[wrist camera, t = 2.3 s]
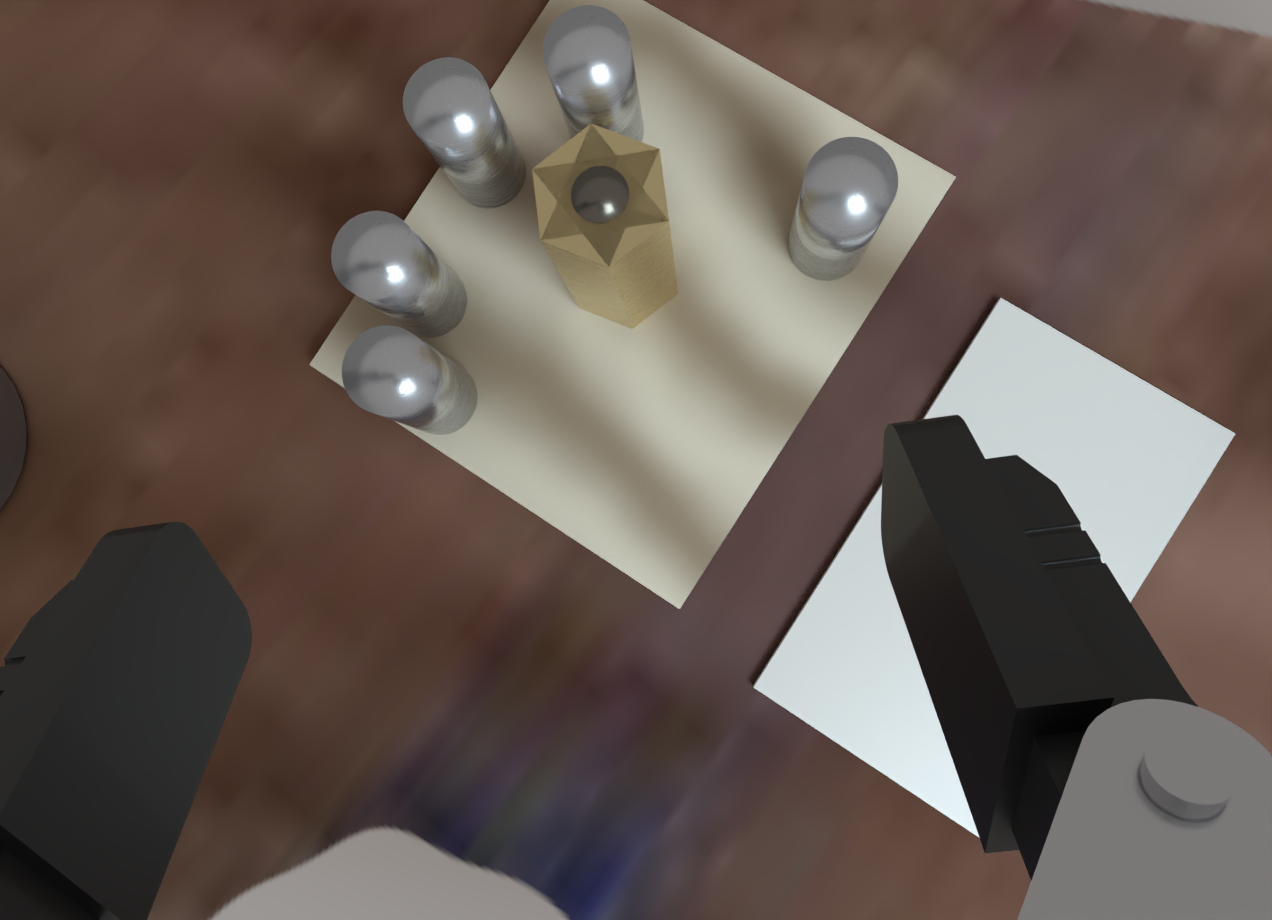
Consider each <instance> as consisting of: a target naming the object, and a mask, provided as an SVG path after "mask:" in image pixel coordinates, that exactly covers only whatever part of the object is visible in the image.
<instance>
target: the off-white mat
mask: <svg viewBox="0 0 1272 920" xmlns="http://www.w3.org/2000/svg"><path fill="white" fill-rule="evenodd" d="M950 415H959V416H961V417H962V418H963V420H964V421H965V423H966V424H967V426H968V428H969V430H970V432H971V433H972V435H973V437H974V439H975V441H976V443H977V444H978V446H979V448H980V450H981V452H982V454H983V456H984V457H985V459H989V458H996V457H1003V456H1011V455H1018V456H1019V457H1020V458H1022V459H1023V460H1025V461H1026V462H1027V463H1029V464H1030V465H1031V466H1033V467H1034V468H1035V469H1037V470H1038V471H1039V472H1041V473H1042V474H1043V475H1045V476H1046V477H1048V478H1049V479H1050V480H1052V481H1053V482H1054V483H1056V484H1057V485H1058V487H1059V488H1060V490H1061V492H1062V493H1063V495H1064V497H1065V498H1066V500H1067V501H1068V503H1069V505H1070V506H1071V508H1072V509H1073V511H1074V513H1075V514H1076V516H1077V517H1078V519H1079V521H1080V522H1081V529H1082V531H1084V530H1086V532H1087V534H1088V535H1089V537H1090V538H1091V540H1092V542H1093V543H1094V545H1095V546H1096V548H1097V550H1098V551H1099V553H1100V558H1101V562H1102V563H1106V564H1107V566H1108V567H1109V569H1110V571H1111V572H1112V574H1113V575H1114V577H1115V579H1116V580H1117V582H1118V584H1119V585H1120V587H1121V588H1122V590H1123V592H1124V593H1125V595H1126V596H1127V598H1128V600H1129V601H1130V602H1131V601H1132V599H1133V597H1134V596H1135V594H1136V593H1137V591H1138V589H1139V588H1140V586H1141V585H1142V583H1143V581H1144V580H1145V578H1146V577H1147V575H1148V573H1149V572H1150V570H1151V569H1152V567H1153V565H1154V564H1155V562H1156V560H1157V559H1158V557H1159V556H1160V554H1161V552H1162V551H1163V549H1164V548H1165V546H1166V544H1167V543H1168V541H1169V540H1170V538H1171V536H1172V535H1173V533H1174V532H1175V530H1176V528H1177V527H1178V525H1179V524H1180V522H1181V520H1182V519H1183V517H1184V516H1185V514H1186V512H1187V511H1188V509H1189V508H1190V506H1191V504H1192V503H1193V501H1194V500H1195V498H1196V496H1197V495H1198V493H1199V492H1200V490H1201V488H1202V487H1203V485H1204V483H1205V482H1206V480H1207V479H1208V477H1209V475H1210V474H1211V472H1212V471H1213V469H1214V467H1215V466H1216V464H1217V463H1218V461H1219V459H1220V458H1221V456H1222V455H1223V453H1224V451H1225V450H1226V448H1227V447H1228V445H1229V443H1230V442H1231V440H1232V439H1233V437H1234V435H1235V433H1233V432H1232V431H1230V430H1228V429H1226V428H1225V427H1223V426H1221V425H1220V424H1218V423H1216V422H1214V421H1213V420H1211V419H1209V418H1208V417H1206V416H1204V415H1202V414H1201V413H1199V412H1197V411H1195V410H1194V409H1192V408H1190V407H1189V406H1187V405H1185V404H1183V403H1182V402H1180V401H1178V400H1176V399H1175V398H1173V397H1171V396H1170V395H1168V394H1166V393H1164V392H1163V391H1161V390H1159V389H1157V388H1156V387H1154V386H1152V385H1151V384H1149V383H1147V382H1145V381H1144V380H1142V379H1140V378H1138V377H1137V376H1135V375H1133V374H1132V373H1130V372H1128V371H1126V370H1125V369H1123V368H1121V367H1119V366H1118V365H1116V364H1114V363H1113V362H1111V361H1109V360H1107V359H1106V358H1104V357H1102V356H1100V355H1099V354H1097V353H1095V352H1094V351H1092V350H1090V349H1088V348H1087V347H1085V346H1083V345H1081V344H1080V343H1078V342H1076V341H1075V340H1073V339H1071V338H1069V337H1068V336H1066V335H1064V334H1062V333H1061V332H1059V331H1057V330H1056V329H1054V328H1052V327H1050V326H1049V325H1047V324H1045V323H1043V322H1042V321H1040V320H1038V319H1037V318H1035V317H1033V316H1031V315H1030V314H1028V313H1026V312H1024V311H1023V310H1021V309H1019V308H1018V307H1016V306H1014V305H1012V304H1011V303H1009V302H1007V301H1005V300H1004V299H1002V298H1000V299H999V300H998V301H997V302H996V304H995V305H994V307H993V308H992V310H991V312H990V313H989V315H988V316H987V318H986V319H985V321H984V323H983V324H982V326H981V327H980V329H979V331H978V332H977V334H976V335H975V337H974V338H973V340H972V342H971V343H970V345H969V346H968V348H967V349H966V351H965V353H964V354H963V356H962V357H961V359H960V360H959V362H958V364H957V365H956V367H955V368H954V370H953V371H952V373H951V375H950V376H949V378H948V379H947V381H946V382H945V384H944V386H943V387H942V389H941V390H940V392H939V393H938V395H937V397H936V398H935V400H934V401H933V403H932V404H931V406H930V408H929V409H928V411H927V412H926V414H925V416H924V417H923V419H929V418H936V417H943V416H950ZM881 502H882V483H881V485H880V486H879V488H878V489H877V491H876V493H875V494H874V496H873V497H872V499H871V501H870V502H869V504H868V505H867V507H866V508H865V510H864V512H863V513H862V515H861V516H860V518H859V519H858V521H857V523H856V524H855V526H854V527H853V529H852V530H851V532H850V534H849V535H848V537H847V538H846V540H845V541H844V543H843V545H842V546H841V548H840V549H839V551H838V552H837V554H836V556H835V557H834V559H833V560H832V562H831V563H830V565H829V567H828V568H827V570H826V571H825V573H824V574H823V576H822V578H821V579H820V581H819V582H818V584H817V586H816V587H815V589H814V590H813V592H812V593H811V595H810V597H809V598H808V600H807V601H806V603H805V604H804V606H803V608H802V609H801V611H800V612H799V614H798V615H797V617H796V619H795V620H794V622H793V623H792V625H791V626H790V628H789V630H788V631H787V633H786V634H785V636H784V637H783V639H782V641H781V642H780V644H779V645H778V647H777V648H776V650H775V652H774V653H773V655H772V656H771V658H770V659H769V661H768V663H767V664H766V666H765V667H764V669H763V671H762V672H761V674H760V675H759V677H758V678H757V680H756V682H755V683H754V685H753V687H754V688H755V689H757V690H758V691H760V692H761V693H763V694H764V695H766V696H767V697H769V698H770V699H772V700H773V701H775V702H776V703H778V704H779V705H781V706H782V707H784V708H785V709H787V710H788V711H790V712H791V713H793V714H794V715H796V716H797V717H799V718H800V719H802V720H803V721H805V722H806V723H808V724H809V725H811V726H812V727H814V728H815V729H817V730H818V731H820V732H821V733H823V734H824V735H826V736H827V737H829V738H830V739H832V740H833V741H835V742H836V743H838V744H839V745H841V746H842V747H844V748H845V749H847V750H848V751H850V752H851V753H853V754H854V755H856V756H857V757H859V758H860V759H862V760H863V761H865V762H866V763H868V764H869V765H871V766H872V767H874V768H875V769H877V770H878V771H880V772H881V773H883V774H884V775H886V776H887V777H889V778H890V779H892V780H893V781H895V782H896V783H898V784H899V785H901V786H902V787H904V788H906V789H907V790H909V791H910V792H912V793H913V794H915V795H916V796H918V797H919V798H921V799H922V800H924V801H925V802H927V803H928V804H930V805H931V806H933V807H934V808H936V809H937V810H939V811H940V812H942V813H943V814H945V815H946V816H948V817H949V818H951V819H952V820H954V821H955V822H957V823H958V824H960V825H961V826H963V827H964V828H966V829H967V830H969V831H970V832H972V833H973V834H975V835H976V836H978V837H979V835H978V832H977V829H976V826H975V823H974V820H973V817H972V814H971V812H970V809H969V806H968V803H967V800H966V797H965V794H964V791H963V789H962V786H961V783H960V780H959V777H958V774H957V771H956V768H955V766H954V763H953V760H952V757H951V754H950V751H949V748H948V745H947V743H946V740H945V737H944V734H943V731H942V728H941V725H940V722H939V720H938V717H937V714H936V711H935V708H934V705H933V702H932V699H931V697H930V694H929V691H928V688H927V685H926V682H925V679H924V676H923V674H922V671H921V668H920V665H919V662H918V659H917V656H916V653H915V651H914V648H913V645H912V642H911V639H910V636H909V633H908V630H907V628H906V625H905V622H904V619H903V616H902V613H901V610H900V607H899V605H898V602H897V599H896V596H895V593H894V590H893V587H892V584H891V582H890V579H889V575H888V572H887V568H886V563H885V559H884V553H883V547H882V538H881ZM979 838H980V837H979Z"/></svg>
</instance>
